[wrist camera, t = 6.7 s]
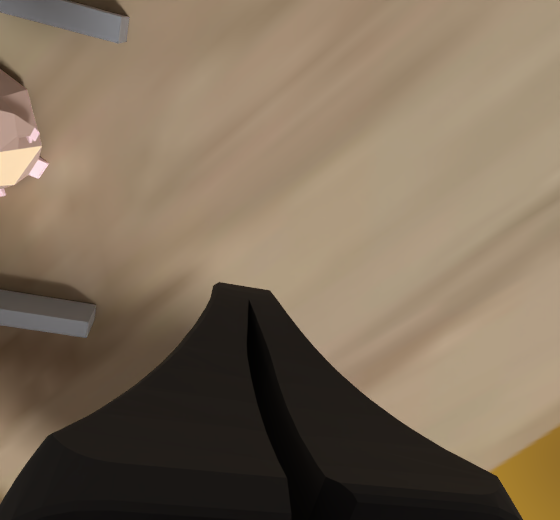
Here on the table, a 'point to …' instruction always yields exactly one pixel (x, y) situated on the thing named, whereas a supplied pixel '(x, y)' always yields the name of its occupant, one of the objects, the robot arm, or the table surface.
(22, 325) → the tray
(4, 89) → the mouse figurine
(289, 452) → the robot arm
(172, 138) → the table surface
